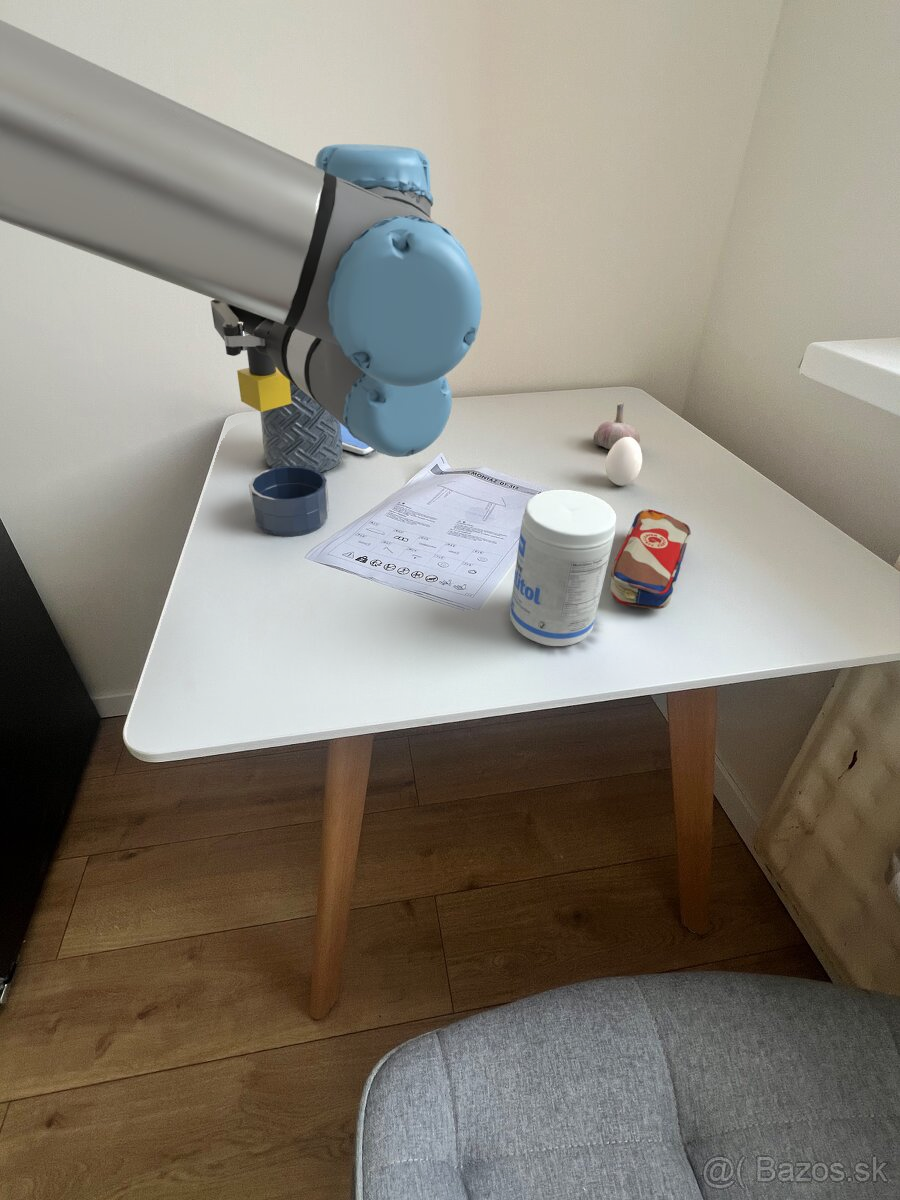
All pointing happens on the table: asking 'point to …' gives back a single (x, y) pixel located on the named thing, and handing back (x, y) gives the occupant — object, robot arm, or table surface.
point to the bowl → (289, 500)
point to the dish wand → (263, 383)
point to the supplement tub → (561, 566)
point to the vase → (301, 434)
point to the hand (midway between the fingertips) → (238, 292)
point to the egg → (624, 461)
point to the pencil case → (649, 560)
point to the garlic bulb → (614, 431)
